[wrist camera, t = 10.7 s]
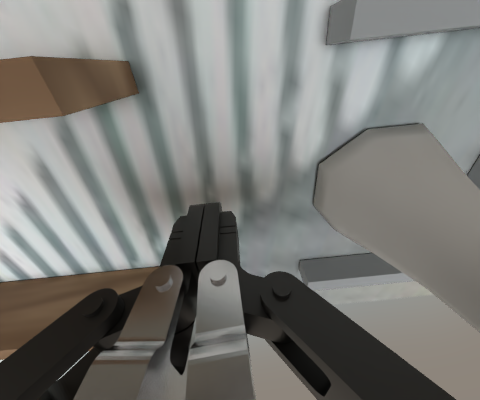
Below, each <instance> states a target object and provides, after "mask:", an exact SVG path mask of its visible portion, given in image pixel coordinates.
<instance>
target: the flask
mask: <svg viewBox="0 0 480 400" xmlns="http://www.w3.org/2000/svg"><path fill="white" fill-rule="evenodd" d="M313 205H314V207H315V208H316V209H317V210H318V211H319V212H320V214H321V215H322V216H323V217H324V218H325V219H326V221H327V222H328V223H329V224H330V225H331V226H332V228H333V229H335V230H336V231H338V232H339V233H341V234H342V235H344V236H346V237H347V238H349V239H350V240H352V241H354V242H355V243H357V244H359V245H360V246H362V247H364V248H365V249H367V250H369V251H370V252H372V253H374V254H375V255H377V256H378V257H380V258H381V259H383V260H384V261H386V262H387V263H389V264H390V265H392V266H393V267H395V268H396V269H398V270H400V271H401V272H403V273H404V274H406V275H407V276H409V277H410V278H412V279H413V280H415V281H416V282H418V283H419V284H421V285H422V286H424V287H425V288H427V289H428V290H429V291H430V292H432V293H433V294H434V295H435V296H436V297H438V298H439V299H440V300H441V301H442V302H444V303H445V304H446V305H447V306H448V307H450V308H451V309H452V310H453V311H454V312H456V313H457V314H458V315H459V316H460V317H461V318H463V319H464V320H465V321H466V322H468V323H469V324H470V325H471V326H472V327H473V328H475V329H476V330H477V331H478V332H480V190H479V188H478V187H477V186H476V185H475V184H474V183H473V182H472V181H471V180H470V179H469V178H468V176H467V175H466V174H465V173H464V172H463V171H462V170H461V168H460V167H459V166H458V165H457V164H456V162H455V161H454V160H453V159H452V157H451V156H450V155H449V154H448V153H447V151H446V150H445V149H444V148H443V146H442V145H441V144H440V143H439V142H438V140H437V139H436V138H435V137H434V135H433V134H432V133H431V132H430V131H429V130H428V129H427V128H426V127H425V125H424V124H414V125H404V126H394V127H385V128H375V129H367V130H366V131H365V132H363V133H362V134H360V135H359V136H358V137H356V138H355V139H354V140H352V141H351V142H349V143H348V144H347V145H345V146H344V147H342V148H341V149H340V150H338V151H337V152H336V153H334V154H333V155H331V156H330V157H329V158H327V159H326V160H325V161H323V162H322V163H320V164H319V169H318V176H317V183H316V190H315V196H314V203H313Z"/></svg>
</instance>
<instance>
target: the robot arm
mask: <svg viewBox="0 0 480 400" xmlns="http://www.w3.org/2000/svg"><path fill="white" fill-rule="evenodd" d="M247 334H250V335H253V336H257V337H260V338H264V339H265V340H266V341H267V342H268V344H269V345H270V346H271V347H272V348H273V350H274V351H275V352H276V353H277V354H278V355H279V356H280V357H281V359H282V360H283V361H284V362H285V363H286V364H287V366H288V367H289V368H290V369H291V370H292V371H293V372H294V373H295V375H296V376H297V377H298V378H299V379H300V380H301V382H303V384H304V385H305V386H306V387H307V388H308V390H309V391H310V392H311V393H312V394H313V395H314V396H315V397H316V399H317V400H456V399H455V398H454V397H452V396H451V395H449V394H448V393H447V392H446V391H444V390H443V389H442V388H440V387H439V386H438V385H436V384H435V383H434V382H432V381H431V380H430V379H429V378H427V377H426V376H424V375H423V374H422V373H421V372H419V371H418V370H417V369H415V368H414V367H413V366H411V365H410V364H408V363H407V362H406V361H405V360H404V359H402V358H401V357H400V356H398V355H397V354H396V353H394V352H393V351H392V350H390V349H389V348H388V347H386V346H385V345H384V344H383V343H381V342H380V341H379V340H377V339H376V338H375V337H373V336H372V335H371V334H369V333H368V332H367V331H365V330H364V329H363V328H362V327H360V326H359V325H358V324H356V323H355V322H354V321H352V320H351V319H350V318H348V317H347V316H346V315H344V314H343V313H342V312H340V311H339V310H338V309H337V308H335V307H334V306H333V305H331V304H330V303H329V302H327V301H326V300H325V299H323V298H322V297H321V296H319V295H318V294H317V293H316V292H314V291H313V290H312V289H310V288H309V287H308V286H306V285H305V284H304V283H302V282H301V281H300V280H298V279H297V278H296V277H294V276H293V275H291V274H289V273H286V272H281V271H278V272H273V273H270V274H268V275H267V276H265V278H264V277H259V276H255V275H251V274H249V273H247V272H246V271H244V270H243V269H242V268H241V266H240V255H239V239H238V231H237V224H236V217H235V216H234V214H233V213H232V212H231V211H227V212H222V207H221V203H220V202H217V203H208V204H199V205H190V207H189V211H188V214H187V216H180V218H179V219H178V220H177V221H176V222H175V223H174V226H173V229H172V233H171V235H170V238H169V241H168V244H167V247H166V250H165V253H164V256H163V259H162V262H161V265H160V268H158V269H156V270H154V271H153V272H152V273H151V274H150V275H149V276H148V277H147V278H146V280H145V282H144V284H143V285H142V286H140V287H138V288H135V289H133V290H130V291H127V292H125V293H122V294H120V295H118V293H117V292H116V291H115V290H114V289H111V288H104V289H100V290H97V291H95V292H93V293H91V294H89V295H88V296H86V297H85V298H84V299H82V300H81V301H80V302H79V303H77V304H76V305H75V306H73V307H72V308H71V309H69V310H68V311H67V312H66V313H64V314H63V315H62V316H60V317H59V318H58V319H56V320H55V321H54V322H53V323H51V324H50V325H49V326H47V327H46V328H45V329H43V330H42V331H41V332H40V333H38V334H37V335H36V336H34V337H33V338H32V339H30V340H29V341H28V342H27V343H25V344H24V345H23V346H21V347H20V348H19V349H17V350H16V351H15V352H14V353H12V354H11V355H10V356H8V357H7V358H6V359H4V360H3V361H2V362H1V363H0V400H256V395H255V388H254V380H253V374H252V367H251V360H250V353H249V346H248V338H247ZM92 347H94V348H92ZM91 348H92V349H91ZM90 349H91V350H90ZM89 350H90V351H89ZM88 351H89V352H88ZM86 352H88V353H87V354H86V355H85V356H84V357H83V358H82V359H81V360H80V361H79V362H78V363H77V364H76V365H75V366H73V365H74V364H75V363H76V362H77V361H78V360H79V359H80V358H81V357H82V356H83V355H84V354H85V353H86ZM72 366H73V367H72ZM70 367H72V368H71V369H70V370H69V371H68V372H67V373H66V374H65V375H64V376H63V377H62V378H60V377H61V376H62V375H63V374H64V373H65V372H66V371H67V370H68V369H69V368H70ZM59 378H60V379H59ZM58 379H59V380H58Z"/></svg>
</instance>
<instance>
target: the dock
mask: <svg viewBox="0 0 480 400" xmlns="http://www.w3.org/2000/svg"><path fill="white" fill-rule="evenodd" d="M475 28H480V0H341V1H339V2H337V3H336V4H334V5H332V6H331V8H330V16H329V25H328V33H327V41H326V45H332V44H341V43H350V42H359V41H368V40H376V39H385V38H394V37H403V36H412V35H421V34H430V33H439V32H448V31H457V30H466V29H475ZM467 176H468V178H469V179H470V180H471V181H472V182H473V183H474V184H475V185H476V186H477V187H478V188H479V190H480V156H479V158H478V159H477V161H476V162H475V164H474V166H473V167H472V169H471V171H470V172H469V174H468V175H467ZM299 271H300V274H301V277H302V280H303V282H304V284H305V285H306V286H308V287H309V288H310V289H312V290H313V291H319V290H329V289H339V288H349V287H359V286H369V285H379V284H389V283H399V282H410V281H415V280H413V279H412V278H410V277H409V276H407V275H406V274H404V273H403V272H401V271H400V270H398V269H396V268H395V267H393V266H392V265H390V264H389V263H387V262H386V261H384V260H383V259H381V258H380V257H378V256H377V255H375V254H374V253H369V254H359V255H349V256H340V257H330V258H320V259H310V260H300V266H299Z"/></svg>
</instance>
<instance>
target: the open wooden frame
mask: <svg viewBox="0 0 480 400" xmlns="http://www.w3.org/2000/svg"><path fill="white" fill-rule="evenodd" d="M138 93H139V92H138V89H137V86H136V83H135V80H134V77H133V74H132V71H131V68H130V65H129V62H128V61H112V60H93V59H74V58H54V57H35V56H29V57H20V58H11V59H2V60H0V123H3V122H12V121H21V120H30V119H39V118H49V117H58V116H65V115H68V114H72V113H75V112H78V111H82V110H85V109H88V108H92V107H95V106H98V105H102V104H105V103H108V102H112V101H115V100H118V99H121V98H125V97H128V96H131V95H135V94H138ZM158 268H160V267H150V268H140V269H130V270H120V271H111V272H101V273H91V274H81V275H71V276H61V277H51V278H41V279H31V280H22V281H12V282H2V283H0V360H3V359H6V358H7V357H8V356H10V355H11V354H12V353H14V352H15V351H16V350H17V349H19V348H20V347H21V346H23V345H24V344H25V343H27V342H28V341H29V340H30V339H32V338H33V337H34V336H36V335H37V334H38V333H40V332H41V331H42V330H43V329H45V328H46V327H47V326H49V325H50V324H51V323H53V322H54V321H55V320H56V319H58V318H59V317H60V316H62V315H63V314H64V313H66V312H67V311H68V310H69V309H71V308H72V307H73V306H75V305H76V304H77V303H79V302H80V301H81V300H82V299H84V298H85V297H86V296H88V295H89V294H91V293H93V292H95V291H97V290H100V289H104V288H111V289H114V290H115V291H116V292H117V293H118V295H120V294H122V293H125V292H127V291H130V290H133V289H135V288H138V287H140V286H142V285H143V284H144V282H145V280H146V278H147V277H148V276H149V275H150V274H151V273H152V272H153V271H154V270H156V269H158ZM92 348H94V347H92ZM92 348H91V349H92ZM91 349H90V350H91ZM90 350H89V351H90Z"/></svg>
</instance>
